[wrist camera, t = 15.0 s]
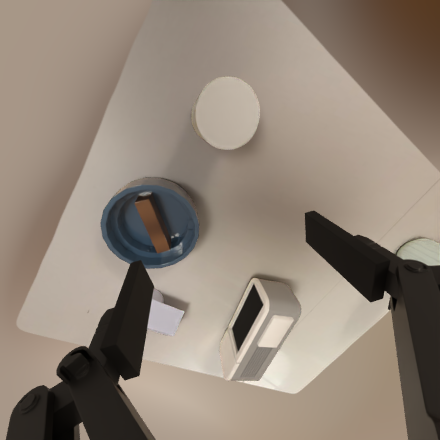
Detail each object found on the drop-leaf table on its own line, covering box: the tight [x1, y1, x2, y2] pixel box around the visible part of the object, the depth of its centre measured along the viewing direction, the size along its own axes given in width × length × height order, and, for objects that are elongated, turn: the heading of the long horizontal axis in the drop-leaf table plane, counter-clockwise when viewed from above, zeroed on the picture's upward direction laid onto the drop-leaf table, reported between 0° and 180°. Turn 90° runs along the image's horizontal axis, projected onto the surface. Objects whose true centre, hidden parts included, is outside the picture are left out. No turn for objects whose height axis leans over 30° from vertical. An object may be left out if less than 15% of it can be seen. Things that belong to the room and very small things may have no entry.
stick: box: [134, 192, 171, 254], centre depth 40 cm, size 11×3×4 cm, turn 13°
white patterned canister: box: [191, 76, 260, 150], centre depth 31 cm, size 8×8×12 cm
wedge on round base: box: [147, 289, 185, 336], centre depth 48 cm, size 9×7×13 cm
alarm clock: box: [220, 278, 301, 381], centre depth 53 cm, size 27×9×12 cm, turn 161°
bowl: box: [101, 177, 199, 269], centre depth 39 cm, size 17×17×6 cm
